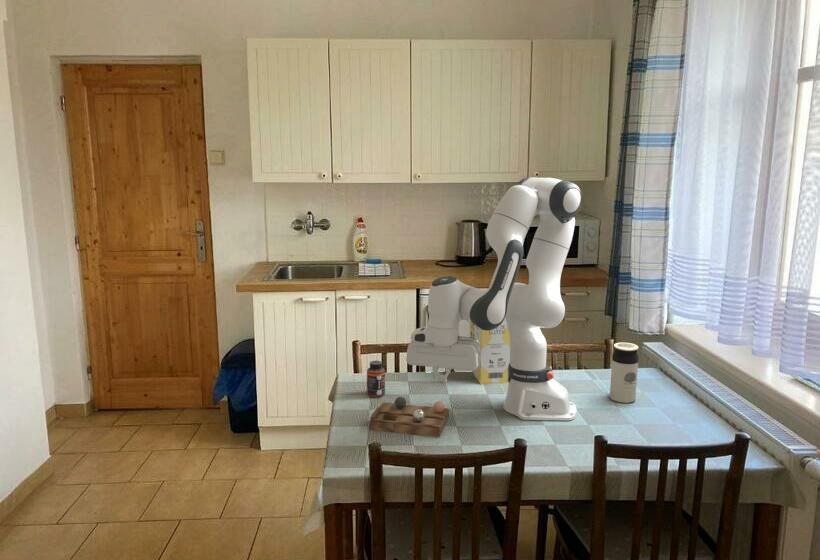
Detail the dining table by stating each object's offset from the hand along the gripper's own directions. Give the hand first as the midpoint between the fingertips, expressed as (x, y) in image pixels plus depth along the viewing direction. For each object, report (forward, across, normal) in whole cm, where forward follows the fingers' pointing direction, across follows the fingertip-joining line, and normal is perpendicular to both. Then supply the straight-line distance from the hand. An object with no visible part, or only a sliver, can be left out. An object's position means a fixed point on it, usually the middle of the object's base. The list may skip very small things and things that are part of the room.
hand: (441, 381), depth 185 cm
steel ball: (+13, +6, 0) cm, 14 cm away
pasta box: (+15, -8, -51) cm, 54 cm away
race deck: (+15, +10, -4) cm, 19 cm away
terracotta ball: (+13, +2, -8) cm, 15 cm away
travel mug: (+14, -53, -38) cm, 67 cm away
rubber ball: (+13, +14, -8) cm, 21 cm away
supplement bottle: (+16, +26, -23) cm, 38 cm away
